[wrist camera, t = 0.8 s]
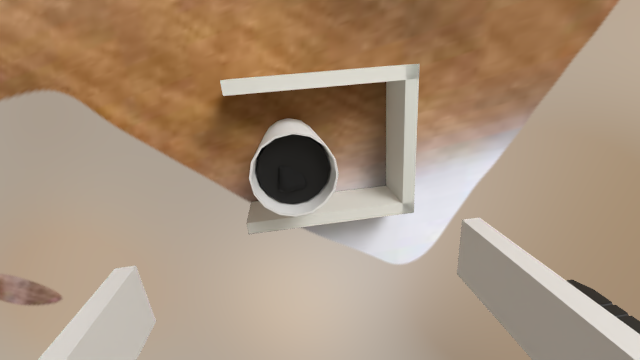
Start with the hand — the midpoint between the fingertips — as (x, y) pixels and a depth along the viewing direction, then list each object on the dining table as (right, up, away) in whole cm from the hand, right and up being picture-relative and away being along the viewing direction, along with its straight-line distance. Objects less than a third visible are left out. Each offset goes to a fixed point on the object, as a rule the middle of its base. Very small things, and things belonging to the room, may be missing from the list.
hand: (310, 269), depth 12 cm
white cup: (-3, +7, +19) cm, 21 cm away
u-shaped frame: (+1, +8, +20) cm, 21 cm away
